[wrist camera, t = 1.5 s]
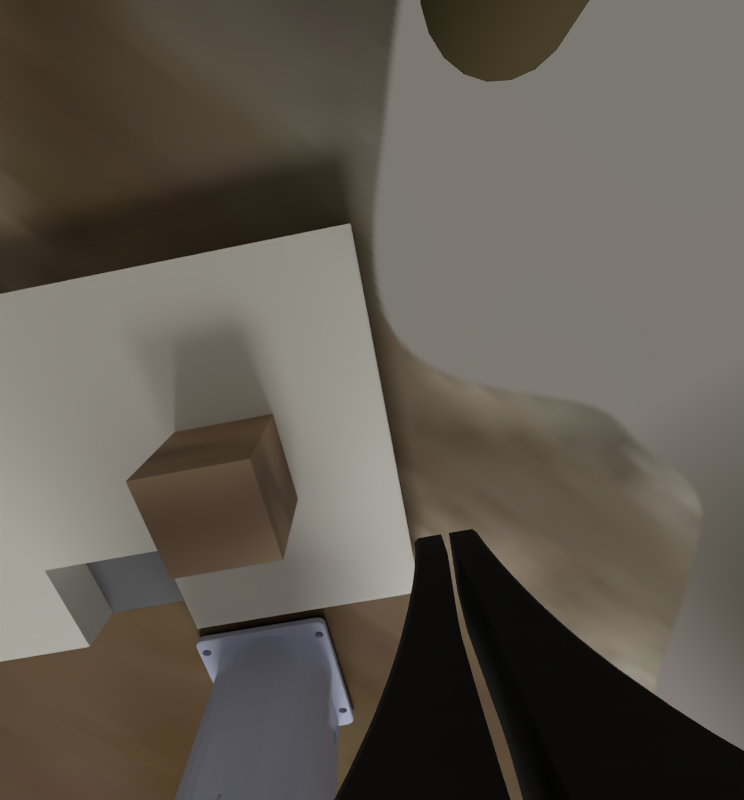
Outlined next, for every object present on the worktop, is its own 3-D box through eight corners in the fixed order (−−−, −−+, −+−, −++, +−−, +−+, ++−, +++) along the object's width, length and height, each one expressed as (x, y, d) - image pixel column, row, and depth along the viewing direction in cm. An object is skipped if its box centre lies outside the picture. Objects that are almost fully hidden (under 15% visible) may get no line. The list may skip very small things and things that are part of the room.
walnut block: (297, 498, 19) (283, 559, 16) (207, 515, 19) (170, 579, 16) (272, 413, 18) (249, 458, 14) (174, 432, 18) (125, 481, 14)
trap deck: (413, 557, 24) (425, 624, 20) (-74, 640, 25) (-163, 720, 21) (351, 226, 18) (348, 220, 13) (-298, 356, 19) (-489, 389, 14)
